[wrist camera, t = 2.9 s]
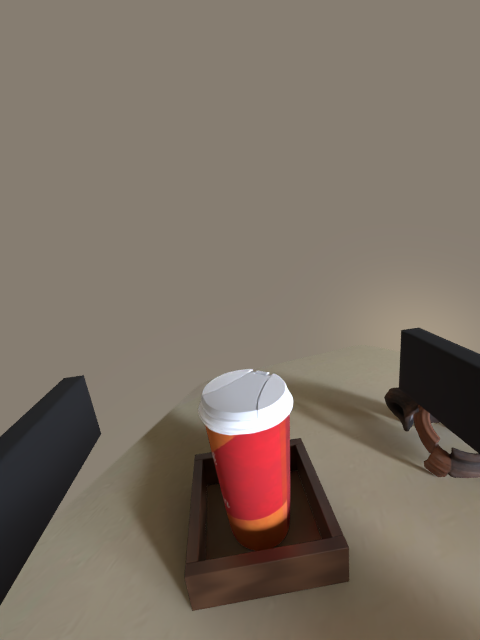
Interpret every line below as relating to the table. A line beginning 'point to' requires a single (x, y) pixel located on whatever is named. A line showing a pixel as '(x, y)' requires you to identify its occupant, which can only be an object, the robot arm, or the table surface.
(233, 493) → the paper cup
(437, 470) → the pottery mug
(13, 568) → the robot arm
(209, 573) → the wooden tray
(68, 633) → the table surface
